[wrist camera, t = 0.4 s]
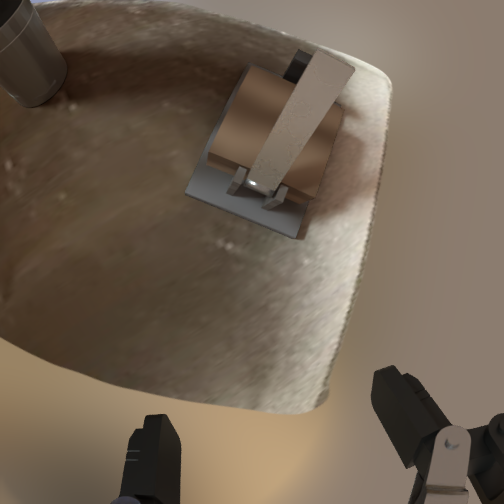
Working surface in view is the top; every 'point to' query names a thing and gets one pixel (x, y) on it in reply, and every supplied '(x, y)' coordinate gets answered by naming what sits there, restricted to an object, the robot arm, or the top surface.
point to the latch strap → (298, 120)
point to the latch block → (249, 145)
